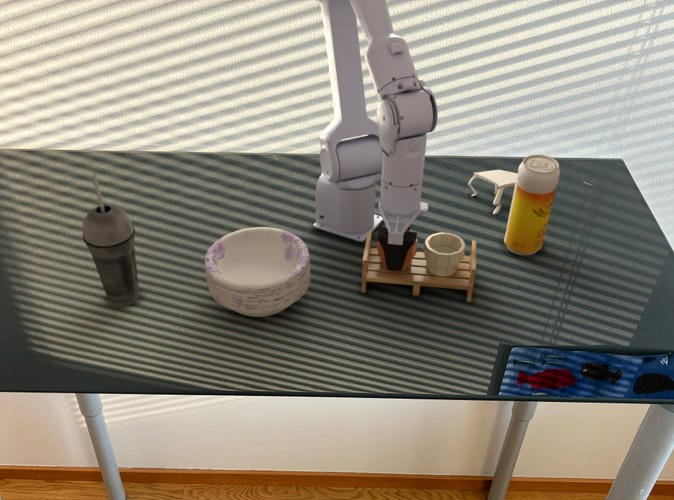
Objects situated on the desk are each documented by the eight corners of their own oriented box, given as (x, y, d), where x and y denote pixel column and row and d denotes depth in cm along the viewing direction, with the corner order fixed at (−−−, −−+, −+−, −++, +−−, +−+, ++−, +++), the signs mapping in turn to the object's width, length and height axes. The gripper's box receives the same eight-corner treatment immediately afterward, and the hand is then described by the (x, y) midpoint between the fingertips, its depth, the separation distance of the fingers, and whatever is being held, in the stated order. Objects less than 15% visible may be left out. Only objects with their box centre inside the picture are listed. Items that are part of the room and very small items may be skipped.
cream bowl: (416, 273, 114) (418, 248, 111) (432, 252, 118) (435, 228, 115) (452, 284, 112) (455, 259, 109) (467, 263, 116) (470, 238, 113)
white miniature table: (474, 217, 130) (478, 192, 127) (465, 191, 136) (469, 166, 133) (544, 215, 131) (549, 190, 127) (532, 190, 137) (537, 165, 133)
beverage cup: (107, 318, 112) (76, 199, 98) (93, 291, 116) (62, 173, 103) (154, 303, 114) (131, 185, 100) (139, 277, 119) (115, 161, 105)
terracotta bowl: (369, 268, 115) (371, 243, 112) (387, 248, 119) (388, 223, 116) (404, 279, 113) (406, 254, 110) (420, 259, 117) (423, 234, 113)
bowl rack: (366, 263, 121) (368, 231, 117) (471, 271, 119) (476, 239, 115) (361, 292, 116) (362, 260, 111) (470, 302, 114) (476, 269, 110)
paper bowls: (197, 281, 118) (190, 238, 112) (288, 258, 122) (286, 215, 117) (228, 342, 108) (222, 298, 102) (326, 314, 112) (326, 270, 106)
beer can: (541, 259, 121) (562, 176, 111) (502, 254, 122) (519, 171, 112) (541, 238, 126) (561, 155, 115) (504, 233, 127) (520, 151, 116)
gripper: (428, 207, 100) (419, 289, 109) (433, 153, 110) (425, 232, 120) (374, 203, 101) (370, 284, 110) (384, 150, 111) (380, 228, 120)
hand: (395, 257), depth 115 cm, fingers closed on terracotta bowl, 5 cm apart
